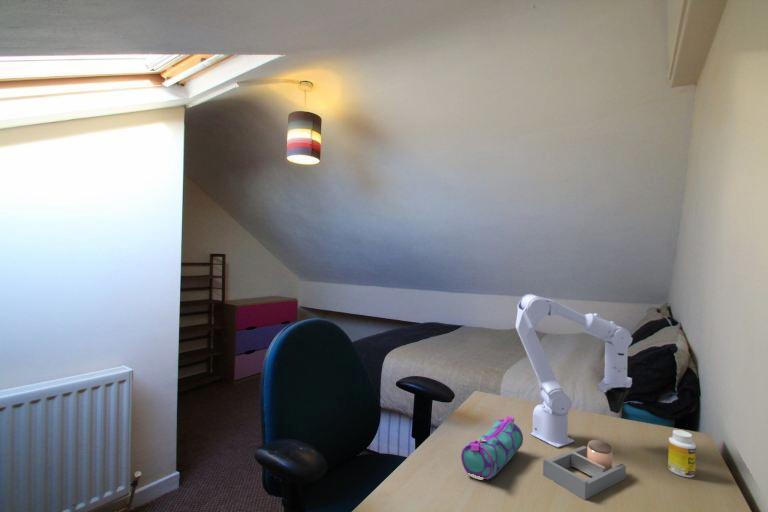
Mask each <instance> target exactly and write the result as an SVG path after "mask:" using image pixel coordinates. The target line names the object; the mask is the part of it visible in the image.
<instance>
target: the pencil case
mask: <svg viewBox="0 0 768 512" xmlns="http://www.w3.org/2000/svg"><path fill="white" fill-rule="evenodd" d="M514 421H515V417H512V416H506V419H504V418H503V419H498V420H497V421H495V423H494V424H493V426H492V427H491V428H490V429H489V430H488V431H486V432H485V434H483V435H481V436H480V437H479V438H478V439H477V440H472V441H469V442H468V443H466V444H465V445H464V446H463V448H462V449H461V453H460V458H461V462H462V463H461V464H462V466H463V469H464V470H465V472H466V473H467V474H468V473H470V474H474V475H476V476H480V477H483V478H484V479H487V480H489V479H491V478H493V477H495V476H496V475H497V474H498V473H499V472H500V471H501V470H502V468H504V466H506V465H507V464H508V462H509V461H510V460H511V459H512V458H513V456H514V455H515V454H516V453H517V451H519V450H520V448H521V447H522V445H523V442H524V436H523V433H522V429H521V428H520V427H519V426H518V425H517V424H516V423H515V422H514Z"/></svg>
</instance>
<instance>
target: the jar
mask: <svg viewBox="0 0 768 512" xmlns="http://www.w3.org/2000/svg"><path fill="white" fill-rule="evenodd" d="M586 447H587V458H588V459H590V460H592V461H594V462H596V463H598V464H600V465H602V466H604V467H605V471H607V470H609V469H611V468H613V449H612V448H613V447H612V445H610V444H609V443H607V442H605V441H602V440H598V439H592V440H589V441H588V444H587V446H586Z"/></svg>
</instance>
